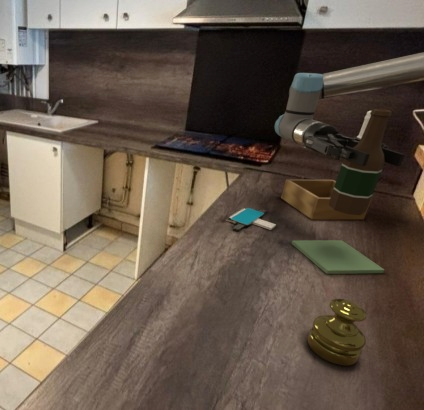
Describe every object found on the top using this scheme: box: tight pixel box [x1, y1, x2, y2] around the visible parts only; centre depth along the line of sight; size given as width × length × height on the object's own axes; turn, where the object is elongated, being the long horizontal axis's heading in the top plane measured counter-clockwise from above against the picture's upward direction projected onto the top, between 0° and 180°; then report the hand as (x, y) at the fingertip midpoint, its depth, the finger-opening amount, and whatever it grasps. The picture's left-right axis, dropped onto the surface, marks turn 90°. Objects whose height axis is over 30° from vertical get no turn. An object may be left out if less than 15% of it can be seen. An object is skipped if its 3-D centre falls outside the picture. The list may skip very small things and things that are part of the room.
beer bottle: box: [329, 108, 392, 215], centre depth 83 cm, size 8×8×24 cm
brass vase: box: [307, 298, 368, 366], centre depth 60 cm, size 7×7×10 cm
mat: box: [291, 239, 385, 275], centre depth 90 cm, size 14×14×1 cm
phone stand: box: [224, 206, 277, 232], centre depth 107 cm, size 20×12×2 cm, turn 134°
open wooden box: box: [280, 178, 373, 220], centre depth 117 cm, size 17×17×7 cm
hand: (383, 160), depth 78 cm, fingers closed on beer bottle, 7 cm apart
